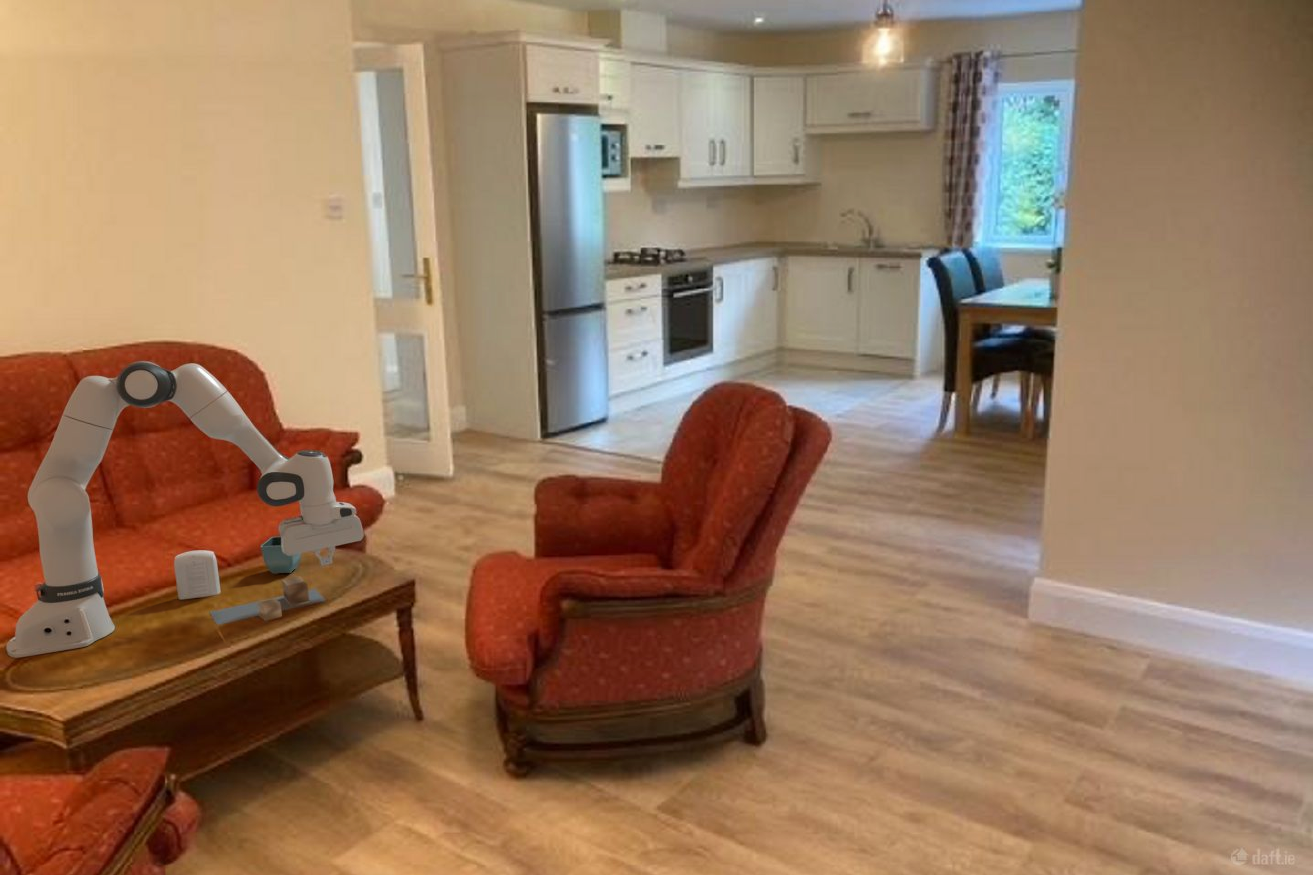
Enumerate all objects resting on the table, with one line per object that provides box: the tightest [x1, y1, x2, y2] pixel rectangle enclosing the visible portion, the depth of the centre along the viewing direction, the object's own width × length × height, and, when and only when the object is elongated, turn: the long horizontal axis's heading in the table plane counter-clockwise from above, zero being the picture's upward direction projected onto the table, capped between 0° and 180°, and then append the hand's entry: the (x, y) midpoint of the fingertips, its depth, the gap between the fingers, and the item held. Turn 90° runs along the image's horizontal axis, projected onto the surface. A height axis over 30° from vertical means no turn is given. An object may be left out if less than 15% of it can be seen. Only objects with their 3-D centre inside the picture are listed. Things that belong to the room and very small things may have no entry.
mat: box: [209, 588, 327, 626], centre depth 259 cm, size 26×11×1 cm, turn 122°
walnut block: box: [281, 575, 309, 606], centre depth 262 cm, size 4×8×5 cm, turn 32°
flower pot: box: [259, 536, 303, 574], centre depth 286 cm, size 9×9×9 cm
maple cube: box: [258, 598, 283, 622], centre depth 251 cm, size 4×4×4 cm
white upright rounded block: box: [173, 549, 221, 600], centre depth 269 cm, size 10×4×12 cm, turn 107°
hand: (326, 563), depth 265 cm, fingers closed
